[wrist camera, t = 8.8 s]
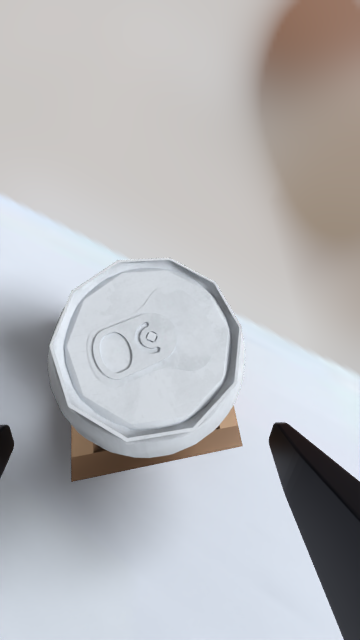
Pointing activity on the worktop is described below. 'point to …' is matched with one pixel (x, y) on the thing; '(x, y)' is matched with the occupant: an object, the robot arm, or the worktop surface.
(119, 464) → the socket block
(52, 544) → the worktop surface
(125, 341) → the beer can
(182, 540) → the worktop surface
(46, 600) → the worktop surface
